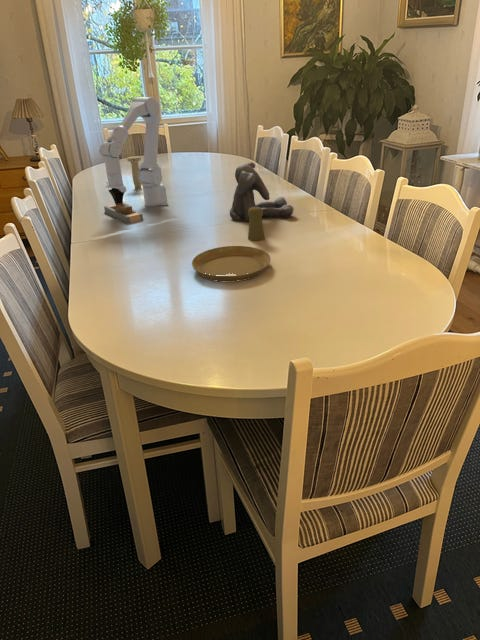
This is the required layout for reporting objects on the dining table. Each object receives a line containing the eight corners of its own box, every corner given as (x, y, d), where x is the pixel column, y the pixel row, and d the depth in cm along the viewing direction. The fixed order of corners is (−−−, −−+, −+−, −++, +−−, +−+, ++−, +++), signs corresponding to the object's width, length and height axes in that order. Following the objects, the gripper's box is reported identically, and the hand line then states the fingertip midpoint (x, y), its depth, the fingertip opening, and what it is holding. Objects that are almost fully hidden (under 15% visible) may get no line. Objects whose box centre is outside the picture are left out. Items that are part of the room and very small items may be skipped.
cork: (267, 235, 185) (266, 205, 180) (262, 241, 180) (261, 210, 175) (250, 234, 187) (249, 204, 182) (245, 240, 182) (244, 209, 177)
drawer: (125, 214, 215) (123, 202, 212) (133, 218, 209) (131, 206, 207) (118, 215, 213) (116, 203, 211) (126, 220, 207) (124, 207, 205)
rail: (121, 210, 223) (120, 202, 222) (144, 221, 207) (143, 213, 206) (104, 214, 219) (102, 206, 218) (126, 226, 203) (125, 217, 202)
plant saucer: (244, 291, 145) (244, 280, 143) (176, 277, 157) (175, 266, 155) (284, 262, 163) (284, 252, 161) (221, 251, 174) (220, 241, 173)
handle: (144, 188, 257) (140, 157, 250) (131, 189, 256) (126, 158, 249) (144, 186, 261) (140, 155, 254) (132, 187, 260) (127, 156, 253)
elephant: (295, 221, 199) (295, 166, 189) (230, 225, 198) (227, 170, 189) (289, 206, 217) (289, 155, 207) (229, 210, 217) (226, 159, 207)
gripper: (97, 172, 210) (103, 205, 216) (112, 177, 199) (117, 212, 206) (113, 169, 214) (118, 201, 220) (128, 174, 203) (133, 208, 209)
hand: (119, 206), depth 213 cm, fingers closed
